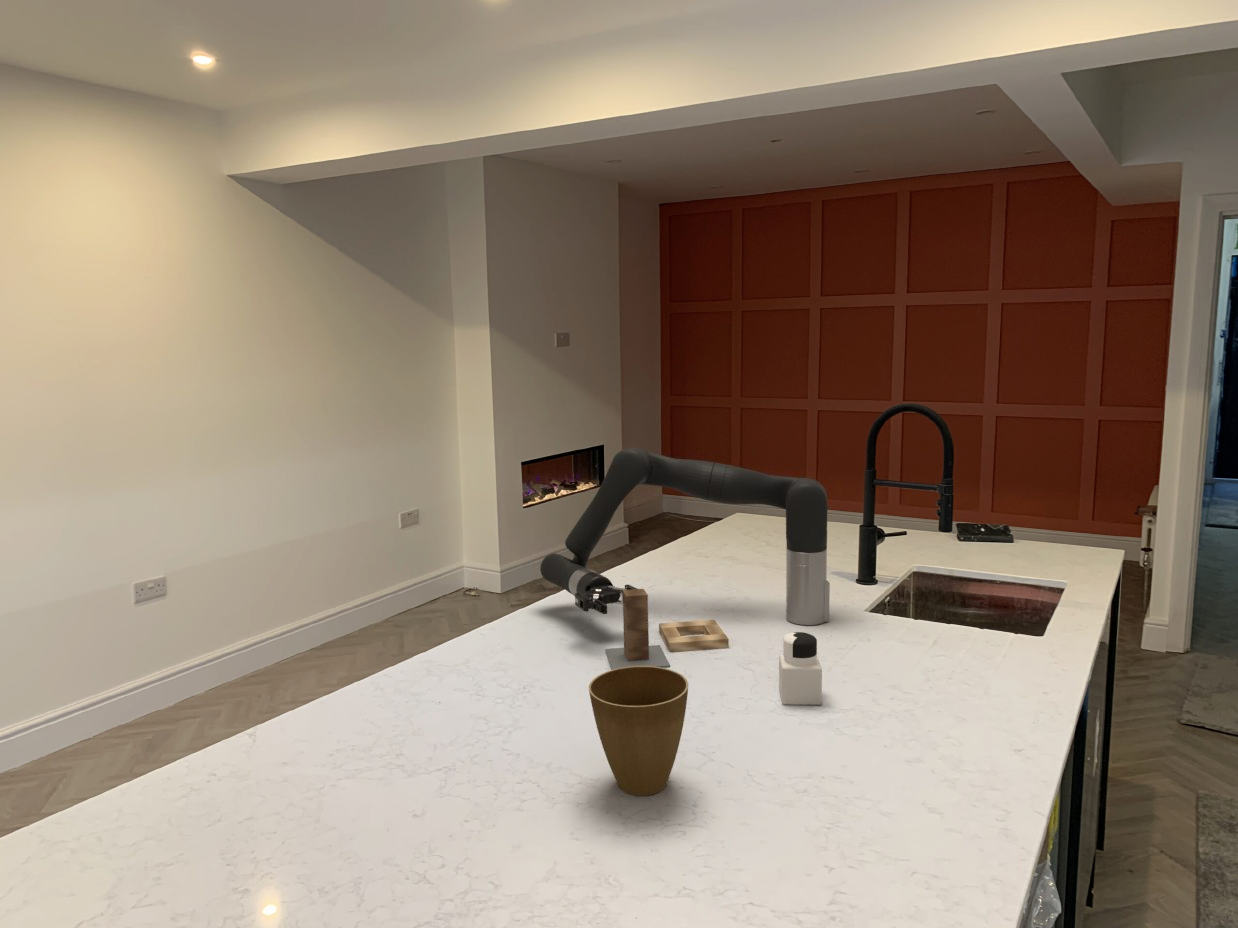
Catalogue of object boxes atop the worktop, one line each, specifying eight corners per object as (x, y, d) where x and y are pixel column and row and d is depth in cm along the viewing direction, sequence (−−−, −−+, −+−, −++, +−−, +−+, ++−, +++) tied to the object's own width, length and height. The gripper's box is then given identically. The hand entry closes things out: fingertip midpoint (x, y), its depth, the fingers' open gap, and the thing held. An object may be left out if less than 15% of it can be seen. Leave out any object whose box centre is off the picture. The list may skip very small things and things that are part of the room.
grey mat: (659, 646, 189) (659, 644, 189) (670, 667, 177) (670, 665, 177) (605, 650, 188) (605, 648, 187) (611, 671, 176) (611, 669, 176)
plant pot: (632, 751, 142) (630, 658, 139) (708, 778, 132) (707, 679, 130) (571, 788, 130) (567, 688, 128) (649, 822, 121) (647, 714, 119)
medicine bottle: (816, 689, 164) (817, 628, 163) (821, 705, 157) (822, 642, 156) (778, 689, 165) (778, 628, 163) (782, 704, 158) (782, 642, 156)
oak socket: (714, 627, 200) (714, 619, 200) (728, 647, 187) (728, 638, 187) (659, 631, 198) (658, 623, 198) (669, 651, 186) (669, 642, 185)
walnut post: (644, 651, 185) (643, 588, 183) (649, 659, 181) (647, 594, 179) (624, 653, 184) (622, 590, 182) (627, 661, 180) (626, 596, 178)
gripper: (561, 576, 196) (593, 594, 182) (617, 567, 202) (652, 584, 188) (562, 608, 197) (594, 629, 183) (618, 598, 203) (652, 617, 189)
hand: (623, 606), depth 185 cm, fingers open, 8 cm apart
